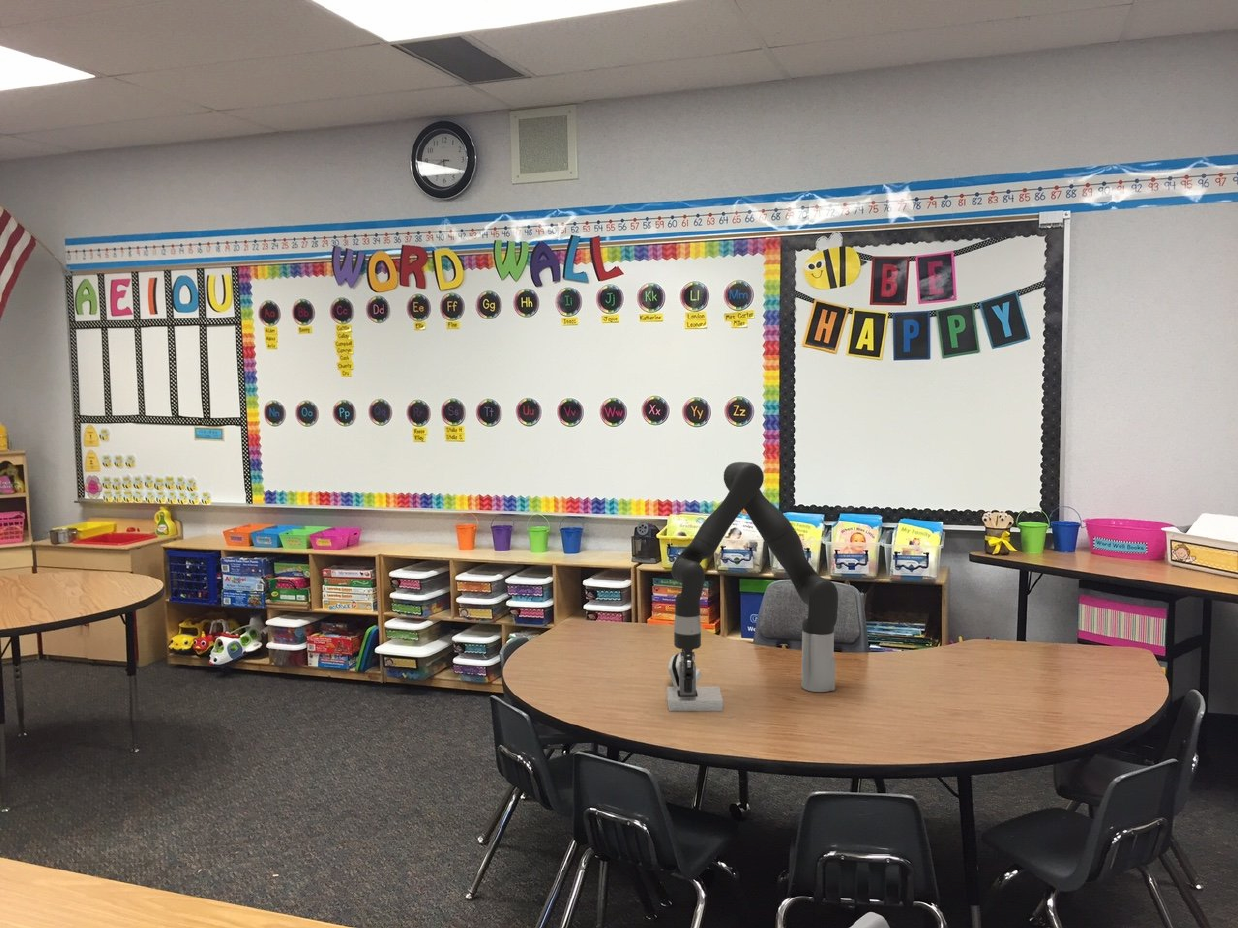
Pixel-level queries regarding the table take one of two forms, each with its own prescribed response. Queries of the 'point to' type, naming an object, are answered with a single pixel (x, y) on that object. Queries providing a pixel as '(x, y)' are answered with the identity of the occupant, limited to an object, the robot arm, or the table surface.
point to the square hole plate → (695, 700)
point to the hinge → (675, 670)
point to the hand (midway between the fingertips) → (687, 688)
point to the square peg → (681, 682)
